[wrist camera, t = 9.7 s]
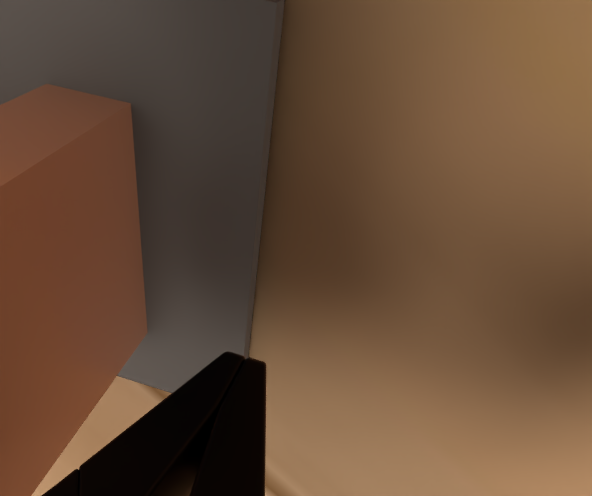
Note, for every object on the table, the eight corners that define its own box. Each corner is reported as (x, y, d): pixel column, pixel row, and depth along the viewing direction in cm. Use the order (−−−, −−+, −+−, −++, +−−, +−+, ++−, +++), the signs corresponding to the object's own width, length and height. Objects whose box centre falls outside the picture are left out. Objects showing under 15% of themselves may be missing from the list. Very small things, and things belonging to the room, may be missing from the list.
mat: (243, 401, 16) (238, 414, 16) (-99, 294, 18) (-112, 303, 18) (285, -3, 9) (277, 2, 9) (-287, -113, 11) (-314, -113, 11)
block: (147, 332, 15) (0, 538, 10) (86, 314, 15) (-85, 505, 10) (130, 103, 11) (-131, 270, 6) (46, 83, 11) (-268, 228, 6)
